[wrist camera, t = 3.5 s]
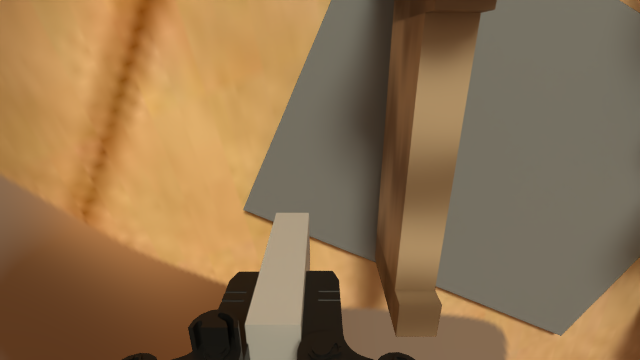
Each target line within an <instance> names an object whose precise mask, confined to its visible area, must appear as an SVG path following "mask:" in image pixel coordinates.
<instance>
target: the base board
mask: <svg viewBox="0 0 640 360" xmlns="http://www.w3.org/2000/svg"><path fill="white" fill-rule="evenodd" d="M393 11H394V0H331V2H330V5H329V7H328V10H327V12H326V14H325V17H324V19H323V21H322V24H321V26H320V29H319V31H318V33H317V36H316V38H315V40H314V43H313V45H312V48H311V50H310V52H309V55H308V57H307V59H306V62H305V64H304V67H303V69H302V71H301V74H300V76H299V78H298V81H297V83H296V86H295V88H294V90H293V93H292V95H291V97H290V100H289V102H288V105H287V107H286V109H285V112H284V114H283V116H282V119H281V121H280V123H279V126H278V128H277V131H276V133H275V135H274V138H273V140H272V142H271V145H270V147H269V150H268V152H267V154H266V157H265V159H264V161H263V164H262V166H261V169H260V171H259V173H258V176H257V178H256V180H255V183H254V185H253V188H252V190H251V192H250V195H249V197H248V199H247V202H246V204H245V207H244V209H243V210H245V211H248V212H250V213H253V214H255V215H258V216H260V217H263V218H265V219H268V220H270V221H273V222H274V219H275V216H276V213H309V236H311V237H313V238H316V239H318V240H321V241H323V242H326V243H328V244H331V245H333V246H336V247H338V248H341V249H343V250H346V251H349V252H351V253H354V254H356V255H359V256H361V257H364V258H366V259H369V260H371V261H374V262H376V260H375V251H376V237H377V224H378V211H379V197H380V184H381V171H382V158H383V144H384V131H385V118H386V104H387V91H388V78H389V64H390V51H391V38H392V25H393ZM639 257H640V13H638V12H637V11H635V10H634V9H632V8H630V7H629V6H627V5H626V4H624V3H623V2H621V1H619V0H497V2H496V8H495V10H492V11H487V12H483V13H481V16H480V22H479V28H478V34H477V40H476V46H475V52H474V58H473V64H472V70H471V76H470V82H469V88H468V94H467V100H466V106H465V112H464V118H463V124H462V130H461V136H460V142H459V148H458V155H457V161H456V167H455V173H454V179H453V185H452V191H451V197H450V203H449V209H448V215H447V221H446V227H445V233H444V239H443V245H442V251H441V257H440V263H439V269H438V275H437V281H436V286H437V287H439V288H442V289H444V290H447V291H449V292H452V293H454V294H457V295H459V296H462V297H464V298H467V299H470V300H472V301H475V302H477V303H480V304H482V305H485V306H487V307H490V308H492V309H495V310H497V311H500V312H502V313H505V314H507V315H510V316H512V317H515V318H517V319H520V320H522V321H525V322H527V323H530V324H533V325H535V326H538V327H540V328H543V329H545V330H548V331H550V332H553V333H555V334H558V335H560V336H561V335H562V334H563V333H564V332H565V331H566V330H567V329H568V328H569V327H570V326H571V325H572V324H573V323H574V322H575V321H576V320H577V319H578V318H579V317H580V316H581V315H582V314H583V313H584V312H585V311H586V310H587V309H588V308H589V307H590V306H591V305H592V304H593V303H594V302H595V301H596V300H597V299H598V298H599V297H600V296H601V295H602V294H603V293H604V292H605V291H606V290H607V289H608V288H609V287H610V286H611V285H612V284H613V283H614V282H615V281H616V280H617V279H618V278H619V277H620V276H621V275H622V274H623V273H624V272H625V271H626V270H627V269H628V268H629V267H630V266H631V265H632V264H633V263H634V262H635V261H636V260H637V259H638V258H639Z"/></svg>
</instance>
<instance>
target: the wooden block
mask: <svg viewBox="0 0 640 360" xmlns="http://www.w3.org/2000/svg"><path fill="white" fill-rule="evenodd" d="M496 2H497V0H394V11H393V25H392V38H391V51H390V64H389V78H388V91H387V104H386V118H385V131H384V144H383V158H382V171H381V184H380V197H379V211H378V224H377V237H376V251H375V260H376V264H377V268H378V271H379V275H380V279H381V283H382V286H383V290H384V294H385V298H386V301H387V305H388V309H389V313H390V316H391V320H392V324H393V327H394V331H395V335H396V337H397V336H398V337H413V336H414V337H421V336H422V337H424V336H425V337H428V336H429V337H432V336H433V337H434V336H435V337H436V335H437V330H438V324H439V319H440V313H441V308H442V304H441V302H440V300H439V298H438V296H437V294H436V291H435V287H436V281H437V275H438V269H439V263H440V257H441V251H442V245H443V239H444V233H445V227H446V221H447V215H448V209H449V203H450V197H451V191H452V185H453V179H454V173H455V167H456V161H457V155H458V148H459V142H460V136H461V130H462V124H463V118H464V112H465V106H466V100H467V94H468V88H469V82H470V76H471V70H472V64H473V58H474V52H475V46H476V40H477V34H478V28H479V22H480V16H481V13H483V12H487V11H492V10H495V8H496Z"/></svg>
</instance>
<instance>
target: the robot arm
mask: <svg viewBox="0 0 640 360" xmlns="http://www.w3.org/2000/svg"><path fill="white" fill-rule="evenodd" d="M309 269H310V240H309V213H276V216H275V219H274V223H273V226H272V230H271V233H270V237H269V240H268V244H267V248H266V251H265V255H264V258H263V262H262V265H261V269H260V272H238V273H237V274H236V275H235V276H234V277H233V278H232V279H231V280H230V281H229V284H228V286H227V289H226V292H225V294H224V296H223V299H222V302H221V304H220V306H219V309H218V310H211V311H208V312H206V313H203V314H201V315H200V316H199V317H197V318H196V319H194V320H193V322H192V323H191V324H190V326H189V327H188V330H189V335H190V340H191V345H192V350H193V351H192V352H191V353H189V354H187V355H185V356H182V357H179V358H176V359H173V360H373V359H370V358H366V357H364V356H361V355H359V354H357V353H356V352H354V351H353V350H352V349H351V348H350V347H349V346H348V345H347V343H346V342H345V340H344V336H343V328H342V314H341V302H340V289H339V280H338V278H337V277H336V275H335V274H334V272H333V271H309ZM122 360H157V359H156V357H155V356H153V355H151V354H149V353H148V354H147V353H139V354H134V355H131V356H128V357H126V358H124V359H122ZM378 360H415V359H413V358H412V357H410V356H409V355H406V354H402V353H399V352H396V353H388V354H385V355H383V356H381V357H380V358H379V359H378Z"/></svg>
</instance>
